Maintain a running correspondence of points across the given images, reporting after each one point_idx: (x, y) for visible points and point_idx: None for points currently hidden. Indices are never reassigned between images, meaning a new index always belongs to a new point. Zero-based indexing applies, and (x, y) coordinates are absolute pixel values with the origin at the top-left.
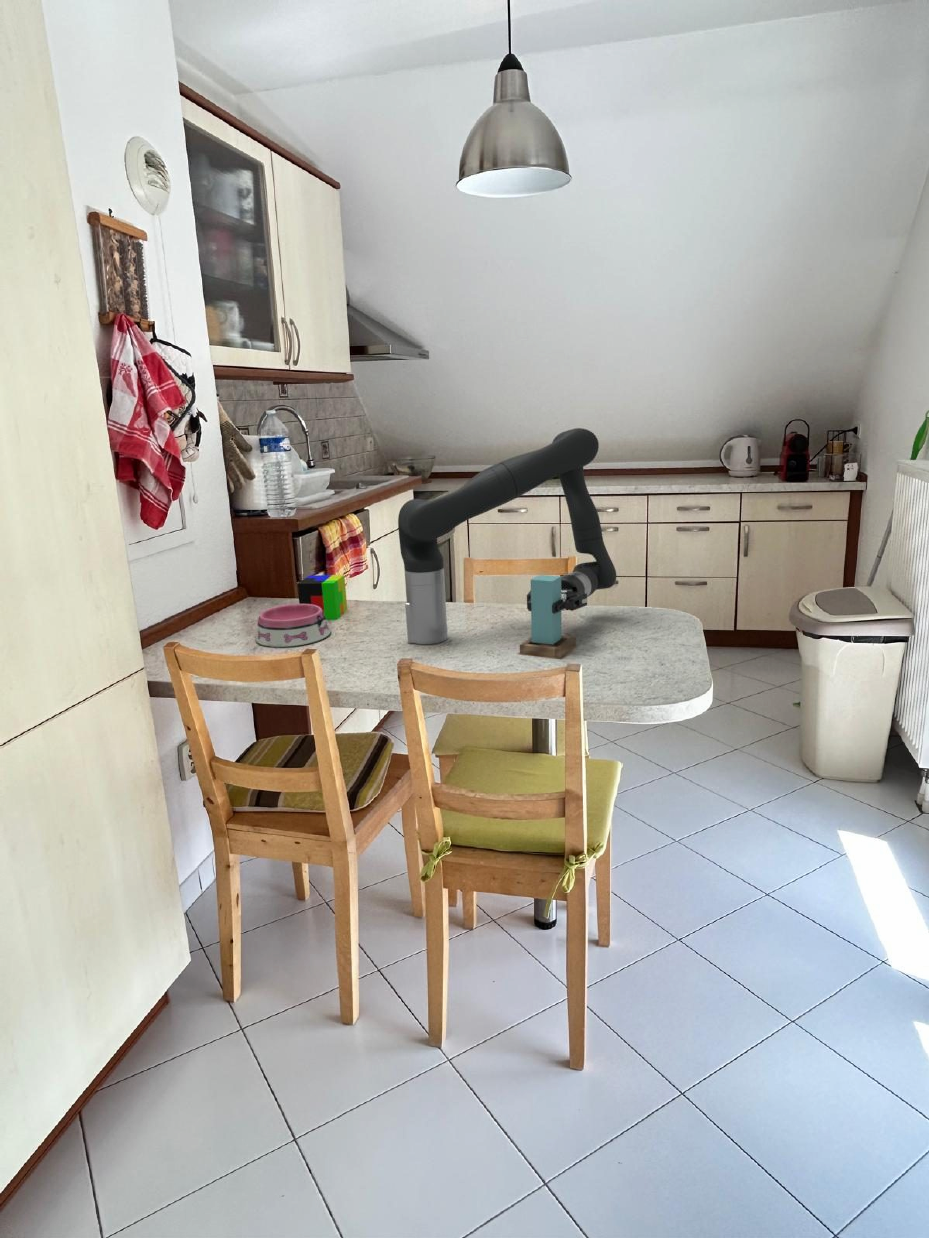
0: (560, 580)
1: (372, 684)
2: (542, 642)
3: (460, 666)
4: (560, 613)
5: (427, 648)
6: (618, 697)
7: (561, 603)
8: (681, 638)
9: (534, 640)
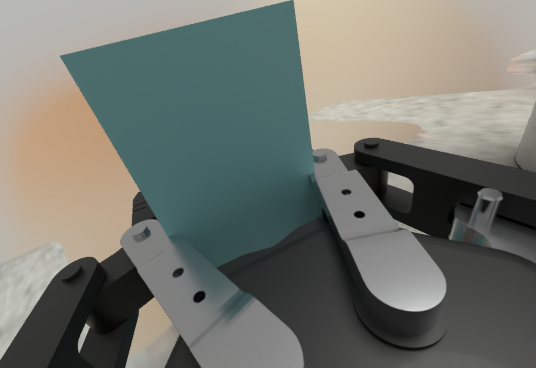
0: (89, 97)
1: (329, 114)
2: None
3: None
4: None
5: (481, 156)
6: (10, 276)
7: (136, 215)
8: None
9: None
